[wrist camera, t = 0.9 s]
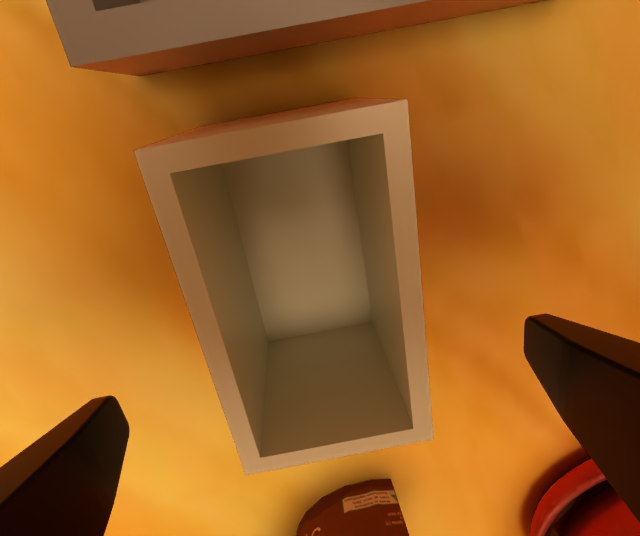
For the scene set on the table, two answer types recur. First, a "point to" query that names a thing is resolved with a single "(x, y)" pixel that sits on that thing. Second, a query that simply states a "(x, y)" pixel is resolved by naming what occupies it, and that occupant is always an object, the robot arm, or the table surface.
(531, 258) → the table surface
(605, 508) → the plant pot
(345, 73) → the table surface
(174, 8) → the big crate
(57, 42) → the table surface
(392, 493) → the food container
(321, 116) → the small crate
